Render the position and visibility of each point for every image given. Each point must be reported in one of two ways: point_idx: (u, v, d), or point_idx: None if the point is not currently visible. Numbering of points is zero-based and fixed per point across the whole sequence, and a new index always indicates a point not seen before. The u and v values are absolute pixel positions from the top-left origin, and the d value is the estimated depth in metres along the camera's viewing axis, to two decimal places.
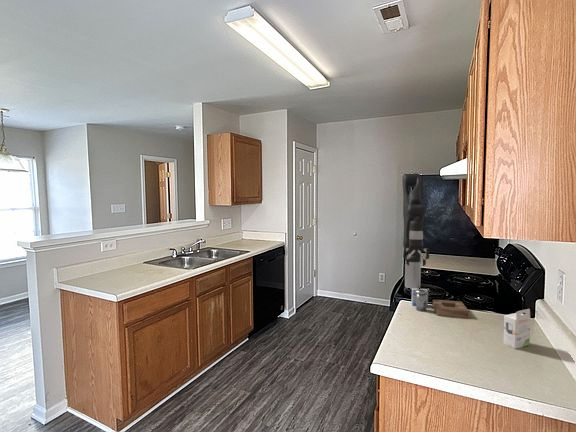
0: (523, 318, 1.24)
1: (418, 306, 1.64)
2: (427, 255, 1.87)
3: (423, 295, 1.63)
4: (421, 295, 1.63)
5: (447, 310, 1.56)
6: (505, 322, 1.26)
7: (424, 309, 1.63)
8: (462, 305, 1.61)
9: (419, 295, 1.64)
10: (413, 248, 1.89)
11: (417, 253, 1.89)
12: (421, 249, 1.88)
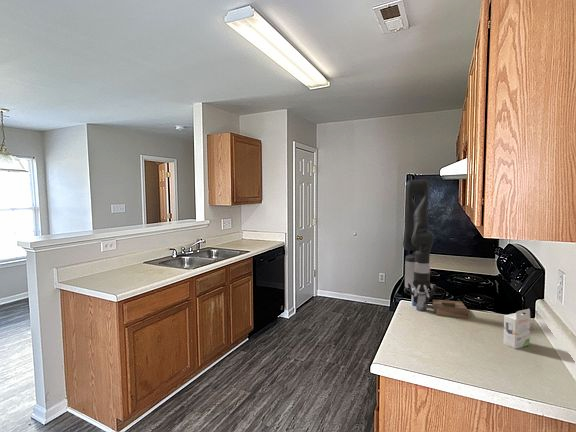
0: (523, 318, 1.24)
1: (418, 306, 1.64)
2: (432, 292, 1.63)
3: (423, 295, 1.63)
4: (421, 295, 1.63)
5: (447, 310, 1.56)
6: (505, 322, 1.26)
7: (424, 309, 1.63)
8: (462, 305, 1.61)
9: (419, 295, 1.63)
10: (418, 282, 1.64)
11: (422, 288, 1.64)
12: (428, 284, 1.63)
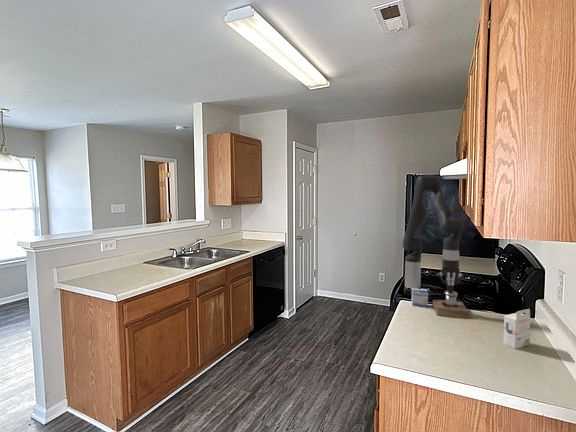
0: (523, 318, 1.24)
1: None
2: (457, 281, 1.60)
3: (453, 297, 1.60)
4: (451, 297, 1.60)
5: (447, 310, 1.56)
6: (505, 322, 1.26)
7: None
8: (462, 305, 1.61)
9: (449, 297, 1.60)
10: (447, 270, 1.61)
11: (450, 274, 1.60)
12: (457, 271, 1.59)
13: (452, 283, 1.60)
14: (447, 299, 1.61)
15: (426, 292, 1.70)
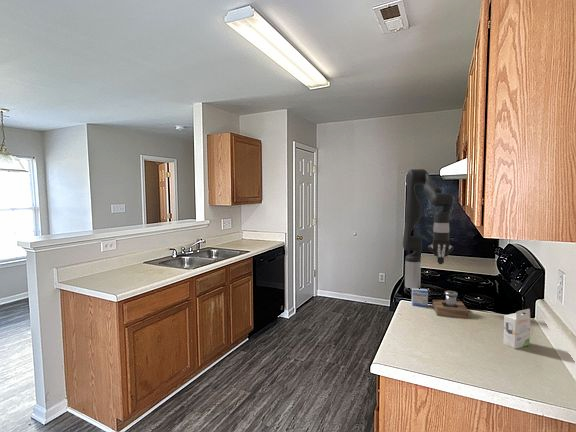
0: (523, 318, 1.24)
1: None
2: (448, 252, 1.66)
3: (453, 297, 1.60)
4: (451, 297, 1.60)
5: (447, 310, 1.56)
6: (505, 322, 1.26)
7: None
8: (462, 305, 1.61)
9: (449, 297, 1.60)
10: (438, 242, 1.67)
11: (440, 246, 1.67)
12: (447, 243, 1.66)
13: (442, 255, 1.67)
14: (447, 299, 1.61)
15: (426, 292, 1.70)
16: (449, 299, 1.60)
